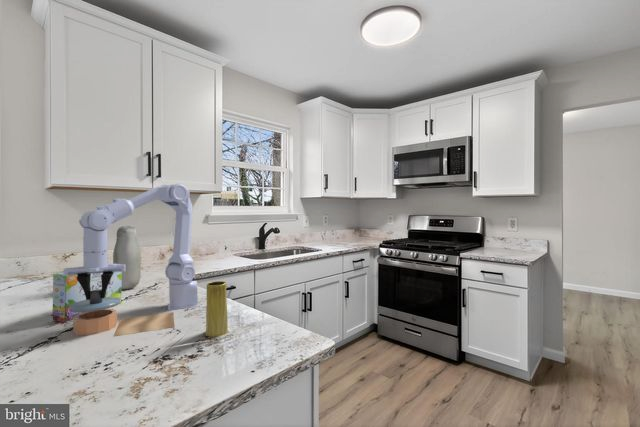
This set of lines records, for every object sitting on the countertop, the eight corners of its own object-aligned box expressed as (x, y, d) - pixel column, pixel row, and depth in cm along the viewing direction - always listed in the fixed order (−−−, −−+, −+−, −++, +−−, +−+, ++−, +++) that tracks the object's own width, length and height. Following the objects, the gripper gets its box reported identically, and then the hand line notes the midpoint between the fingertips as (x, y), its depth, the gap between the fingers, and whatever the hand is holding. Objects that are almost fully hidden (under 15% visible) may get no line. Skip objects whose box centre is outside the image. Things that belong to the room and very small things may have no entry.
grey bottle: (125, 285, 144) (125, 225, 144) (145, 286, 143) (145, 225, 143) (108, 291, 134) (107, 226, 134) (129, 292, 133) (129, 226, 133)
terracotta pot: (118, 321, 97) (118, 307, 97) (114, 332, 88) (113, 316, 88) (79, 326, 93) (78, 311, 93) (69, 339, 84) (69, 322, 84)
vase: (206, 339, 83) (206, 286, 83) (203, 332, 89) (203, 282, 89) (230, 335, 86) (229, 284, 86) (225, 328, 92) (225, 279, 92)
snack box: (66, 323, 96) (66, 274, 96) (51, 321, 97) (51, 273, 97) (122, 303, 117) (122, 263, 117) (110, 302, 118) (109, 262, 118)
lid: (122, 297, 99) (122, 284, 99) (117, 308, 88) (117, 292, 88) (75, 302, 93) (75, 288, 93) (64, 314, 82) (64, 298, 82)
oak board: (173, 313, 105) (173, 312, 105) (174, 328, 91) (174, 327, 91) (120, 320, 98) (120, 319, 98) (113, 338, 85) (113, 336, 85)
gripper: (59, 254, 84) (60, 305, 84) (123, 251, 90) (123, 298, 90) (67, 251, 90) (67, 298, 90) (126, 249, 97) (126, 292, 97)
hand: (95, 298), depth 91 cm, fingers closed on lid, 3 cm apart
